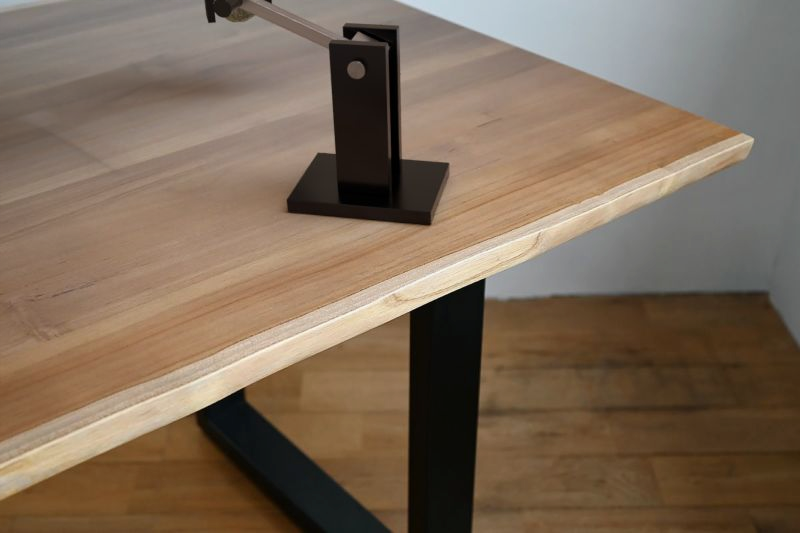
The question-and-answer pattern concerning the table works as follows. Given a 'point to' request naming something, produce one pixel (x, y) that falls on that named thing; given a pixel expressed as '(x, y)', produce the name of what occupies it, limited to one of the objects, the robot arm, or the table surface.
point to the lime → (239, 15)
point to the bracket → (368, 140)
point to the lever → (284, 20)
